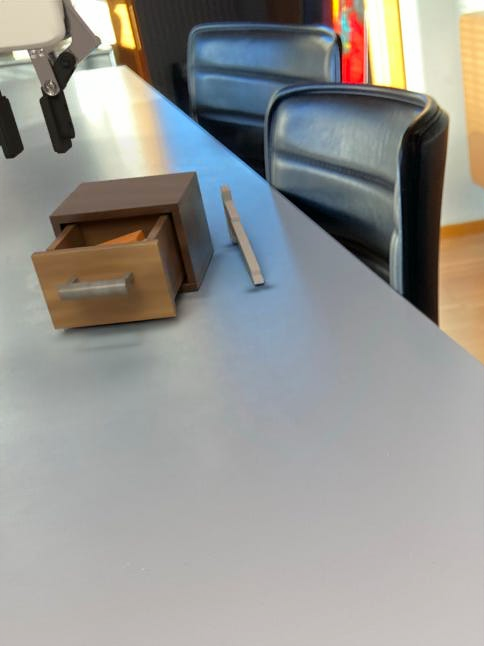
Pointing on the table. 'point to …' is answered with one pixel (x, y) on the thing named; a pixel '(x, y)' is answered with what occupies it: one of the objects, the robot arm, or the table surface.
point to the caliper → (240, 235)
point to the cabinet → (148, 212)
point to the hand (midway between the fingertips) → (39, 150)
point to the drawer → (111, 272)
